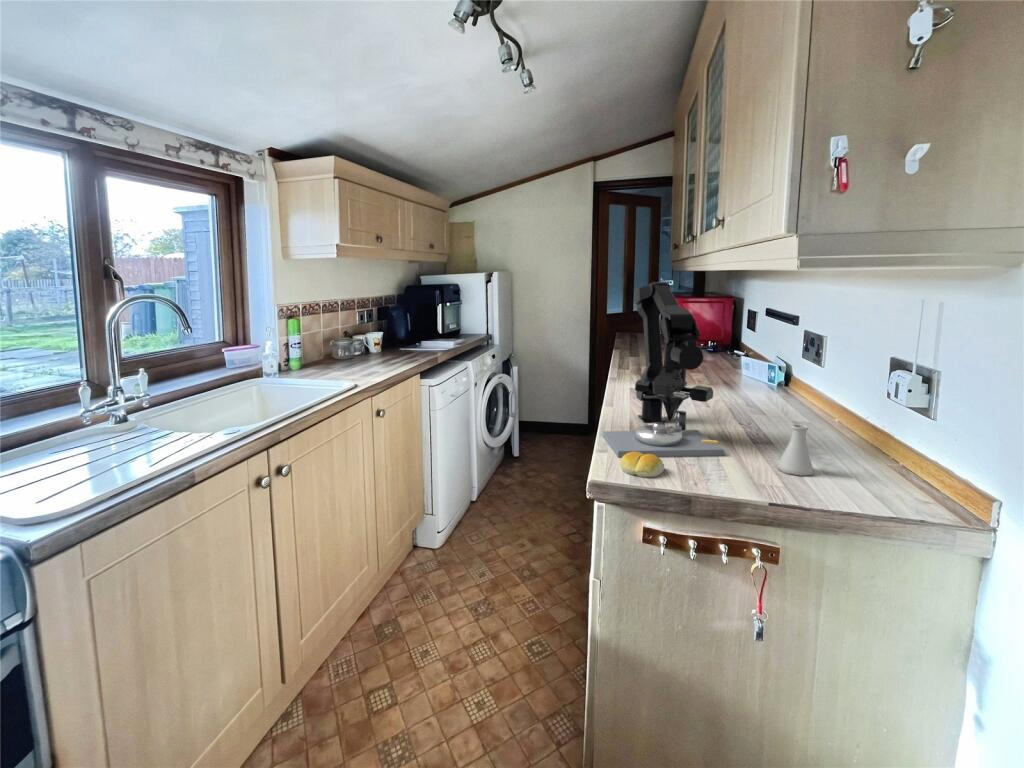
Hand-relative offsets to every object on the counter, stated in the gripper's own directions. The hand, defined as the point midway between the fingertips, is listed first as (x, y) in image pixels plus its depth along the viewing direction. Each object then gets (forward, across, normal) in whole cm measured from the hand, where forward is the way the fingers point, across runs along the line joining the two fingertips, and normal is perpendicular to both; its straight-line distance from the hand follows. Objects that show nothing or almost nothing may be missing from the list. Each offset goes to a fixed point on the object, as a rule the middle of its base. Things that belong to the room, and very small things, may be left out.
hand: (670, 421), depth 133 cm
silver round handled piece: (+2, +1, -7) cm, 8 cm away
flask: (+4, +31, -7) cm, 32 cm away
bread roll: (+4, +5, -27) cm, 28 cm away
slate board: (+4, +1, -9) cm, 10 cm away
